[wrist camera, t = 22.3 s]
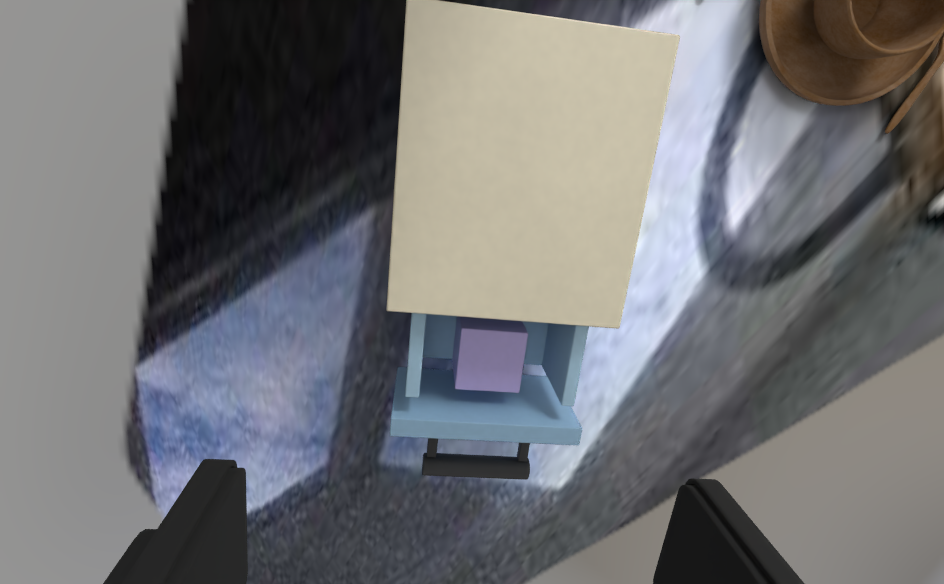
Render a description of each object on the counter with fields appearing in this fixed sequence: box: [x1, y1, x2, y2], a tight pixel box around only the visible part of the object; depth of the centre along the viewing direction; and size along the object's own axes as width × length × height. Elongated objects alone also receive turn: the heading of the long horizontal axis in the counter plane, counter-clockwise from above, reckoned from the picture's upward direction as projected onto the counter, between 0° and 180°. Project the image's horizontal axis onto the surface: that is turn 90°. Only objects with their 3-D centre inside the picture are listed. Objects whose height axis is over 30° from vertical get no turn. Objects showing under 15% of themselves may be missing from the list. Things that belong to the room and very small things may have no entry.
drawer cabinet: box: [387, 0, 680, 328], centre depth 29 cm, size 15×13×9 cm
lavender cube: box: [452, 316, 528, 393], centre depth 32 cm, size 4×4×4 cm
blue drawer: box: [390, 313, 589, 479], centre depth 32 cm, size 18×11×7 cm, turn 173°
